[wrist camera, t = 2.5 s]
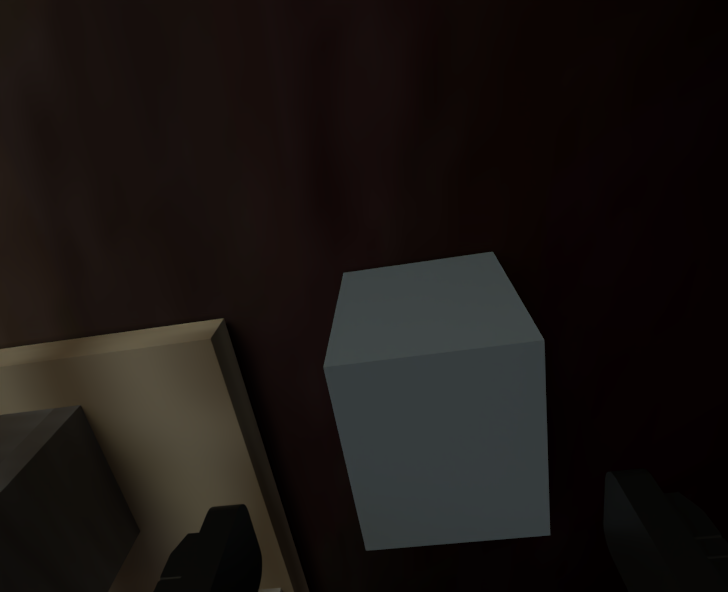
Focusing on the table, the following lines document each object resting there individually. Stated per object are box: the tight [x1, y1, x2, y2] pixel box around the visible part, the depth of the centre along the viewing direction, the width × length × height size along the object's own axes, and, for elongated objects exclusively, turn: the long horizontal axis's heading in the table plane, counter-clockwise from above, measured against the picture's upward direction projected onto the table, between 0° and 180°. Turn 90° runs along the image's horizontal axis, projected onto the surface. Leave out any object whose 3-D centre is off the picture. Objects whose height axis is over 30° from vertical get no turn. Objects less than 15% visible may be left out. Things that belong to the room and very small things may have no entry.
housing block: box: [324, 252, 550, 551], centre depth 15 cm, size 5×6×6 cm
